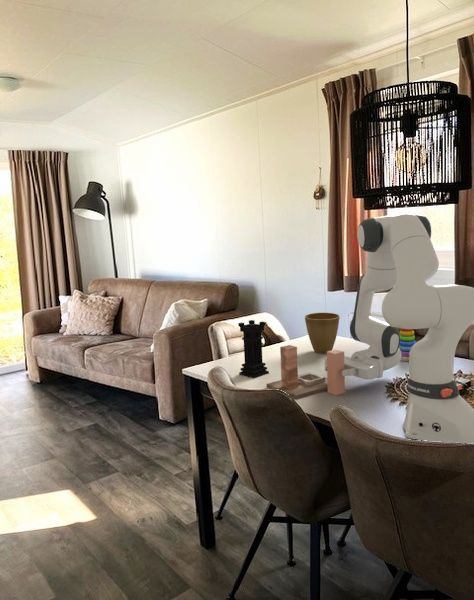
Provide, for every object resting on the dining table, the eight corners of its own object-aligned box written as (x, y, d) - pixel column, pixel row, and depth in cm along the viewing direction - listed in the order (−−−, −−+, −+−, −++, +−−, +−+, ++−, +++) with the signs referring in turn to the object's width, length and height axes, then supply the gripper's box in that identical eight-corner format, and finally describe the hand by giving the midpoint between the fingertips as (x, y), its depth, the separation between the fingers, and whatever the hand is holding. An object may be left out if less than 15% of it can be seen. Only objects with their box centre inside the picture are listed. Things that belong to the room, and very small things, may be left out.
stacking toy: (415, 356, 212) (415, 311, 209) (420, 361, 204) (420, 314, 202) (395, 356, 213) (395, 311, 210) (399, 362, 205) (399, 315, 202)
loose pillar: (344, 392, 173) (344, 351, 171) (336, 395, 171) (335, 353, 169) (336, 389, 177) (335, 349, 175) (327, 392, 175) (326, 351, 172)
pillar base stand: (340, 385, 180) (339, 342, 178) (296, 398, 170) (294, 353, 167) (309, 375, 194) (308, 335, 191) (266, 387, 183) (264, 344, 181)
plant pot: (299, 350, 231) (298, 314, 229) (329, 346, 236) (328, 311, 233) (315, 358, 217) (314, 320, 215) (346, 353, 222) (346, 316, 220)
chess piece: (239, 374, 199) (236, 323, 196) (253, 369, 205) (251, 319, 202) (254, 378, 194) (252, 325, 191) (268, 373, 199) (266, 321, 196)
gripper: (341, 349, 188) (312, 356, 180) (386, 360, 171) (356, 368, 164) (341, 366, 189) (312, 373, 181) (386, 378, 172) (356, 387, 164)
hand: (333, 371), depth 172 cm, fingers open, 6 cm apart
